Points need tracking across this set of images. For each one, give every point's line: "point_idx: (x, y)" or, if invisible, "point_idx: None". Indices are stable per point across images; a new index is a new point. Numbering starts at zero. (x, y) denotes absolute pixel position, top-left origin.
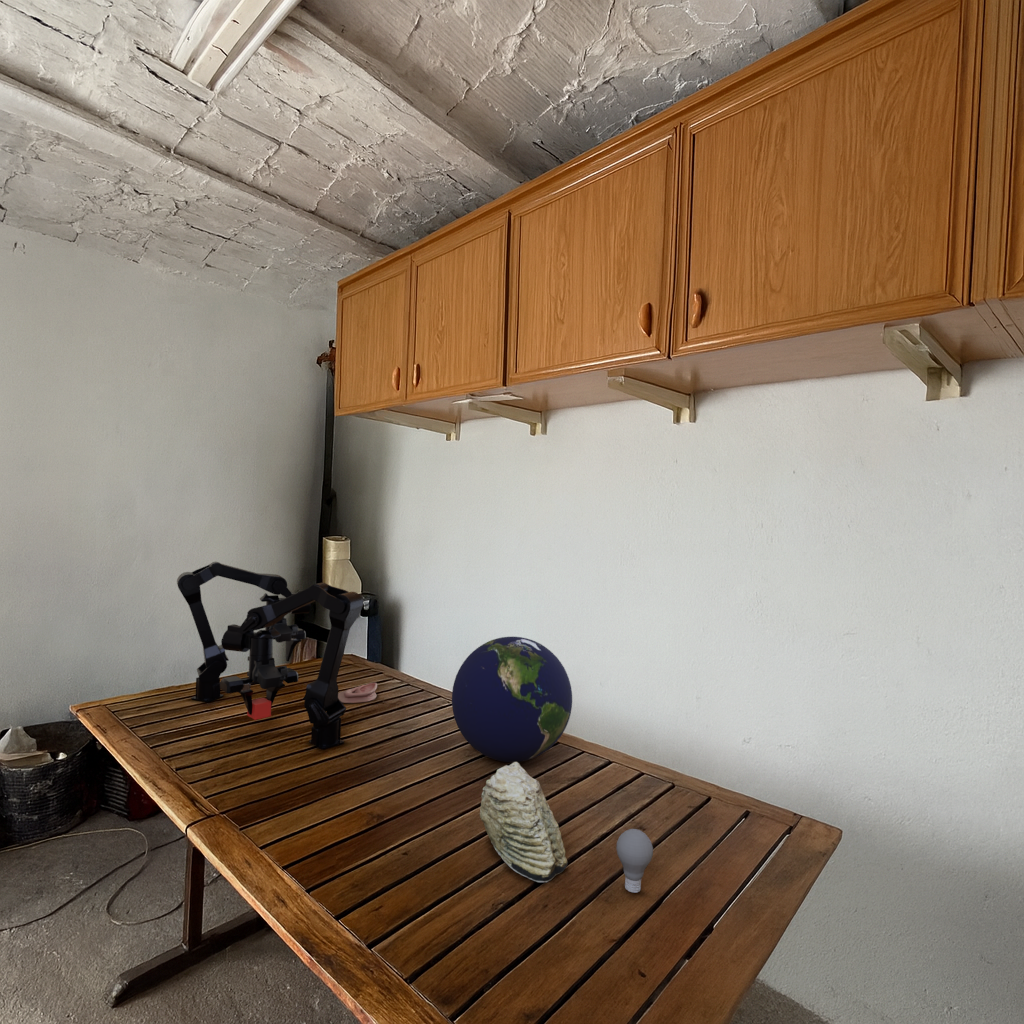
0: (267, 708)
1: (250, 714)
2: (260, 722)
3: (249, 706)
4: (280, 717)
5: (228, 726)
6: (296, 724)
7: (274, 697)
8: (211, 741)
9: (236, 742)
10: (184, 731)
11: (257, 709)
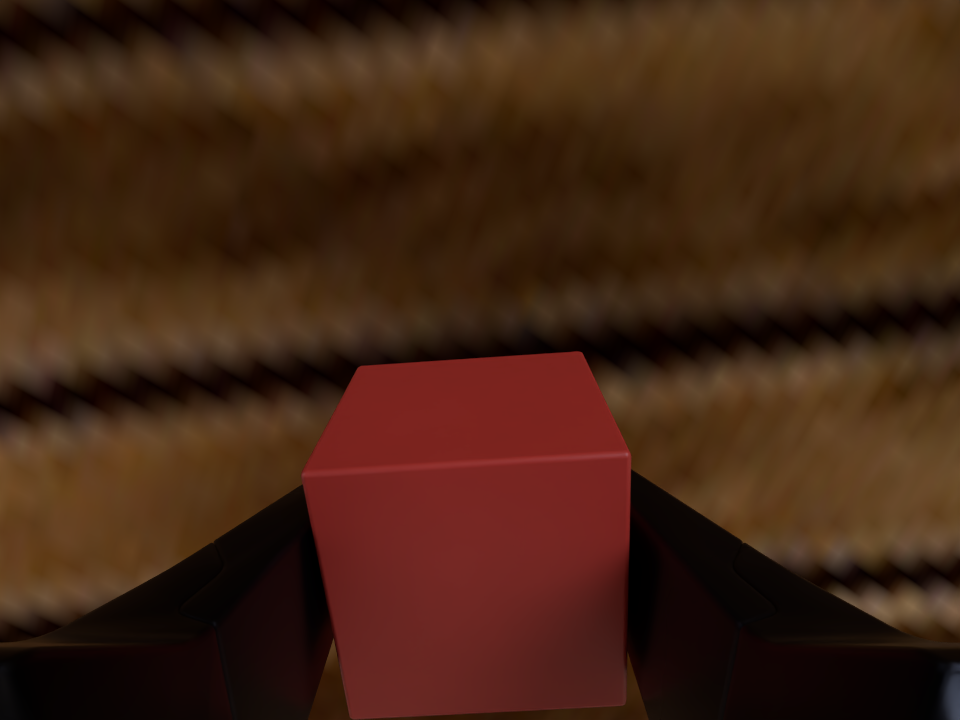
0: (395, 410)
1: None
2: None
3: (683, 513)
4: None
5: None
6: (101, 376)
7: (201, 555)
8: (889, 408)
9: (746, 257)
10: None
11: (569, 412)
